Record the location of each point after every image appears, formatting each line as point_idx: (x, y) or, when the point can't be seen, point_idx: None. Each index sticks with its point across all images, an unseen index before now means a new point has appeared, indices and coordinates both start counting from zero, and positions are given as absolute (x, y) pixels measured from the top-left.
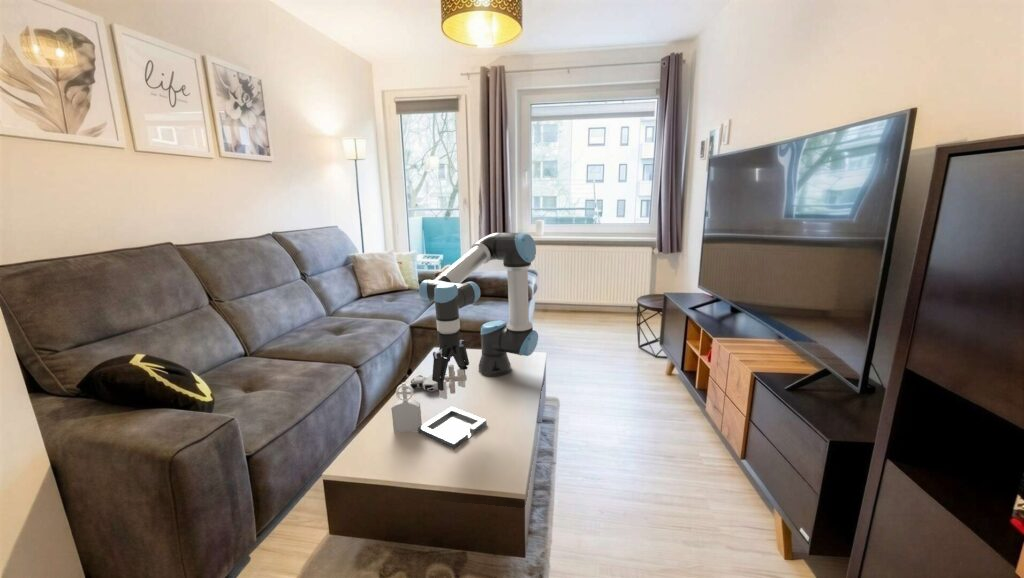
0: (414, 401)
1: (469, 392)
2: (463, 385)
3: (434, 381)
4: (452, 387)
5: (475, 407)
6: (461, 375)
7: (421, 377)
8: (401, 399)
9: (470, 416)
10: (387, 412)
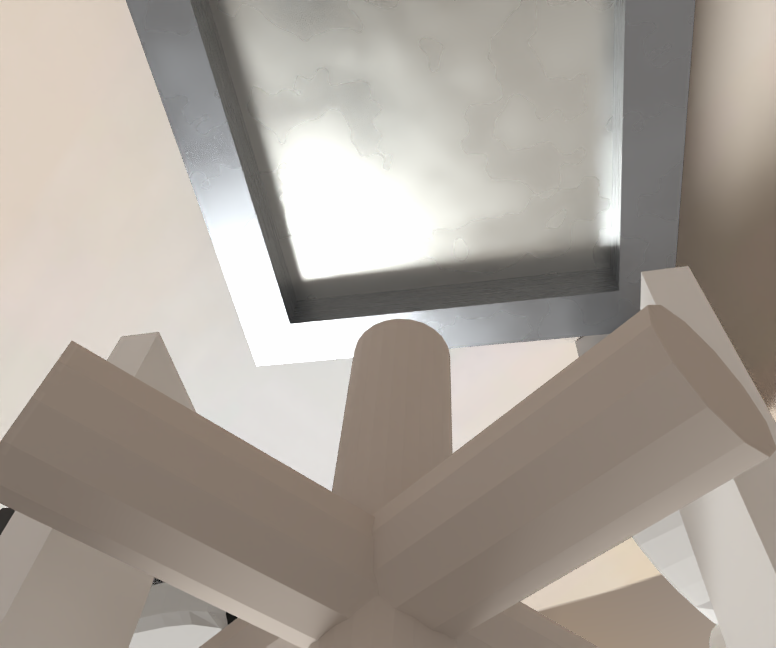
0: (674, 559)
1: (9, 426)
2: (147, 365)
3: (189, 642)
4: (673, 327)
5: (66, 242)
6: (77, 568)
7: None
8: None
9: (208, 118)
10: (590, 590)
